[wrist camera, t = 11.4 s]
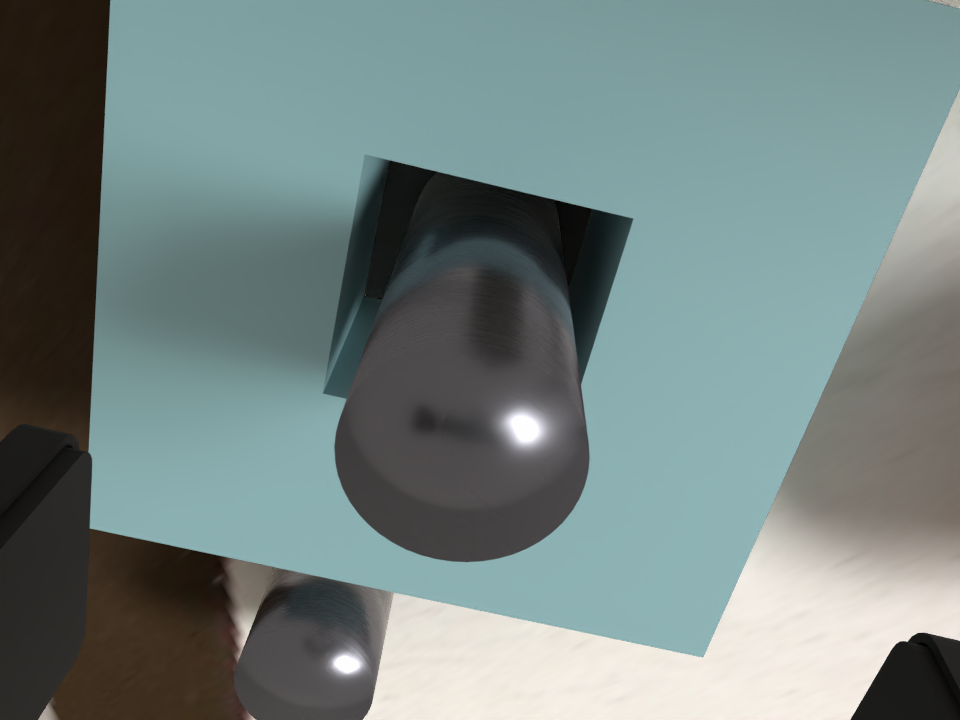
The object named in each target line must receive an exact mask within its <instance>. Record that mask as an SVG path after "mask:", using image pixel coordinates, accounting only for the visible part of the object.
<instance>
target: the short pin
mask: <svg viewBox="0 0 960 720" xmlns="http://www.w3.org/2000/svg"><path fill="white" fill-rule="evenodd" d="M393 593H394V592H390V591H385V590H380V589H376V588H371V587H366V586H361V585H357V584H352V583H347V582H342V581H338V580H333V579H328V578H323V577H319V576H314V575H309V574H305V573H300V572H295V571H290V570H286V569H281V568H276V567H275V568H274V571H273V573H272V576H271V578H270V581H269V583H268V586H267V589H266V591H265V594H264V596H263V599H262V602H261V604H260V607H259V609H258V612H257V615H256V617H255V620H254V622H253V625H252V627H251V630H250V633H249V635H248V638H247V640H246V643H245V646H244V648H243V651H242V653H241V656H240V658H239V661H238V664H237V666H236V670H235V674H234V685H235V690H236V693H237V696H238V698H239V700H240V702H241V703H242V705H243V706H244V708H245V709H246V710H247V711H248V713H249V714H250V715H252V716H253V717H254V718H255V719H256V720H363V718H364V717H365V716H366V715H367V713H368V711H369V709H370V707H371V704H372V700H373V695H374V690H375V685H376V680H377V675H378V669H379V664H380V659H381V654H382V649H383V644H384V639H385V634H386V629H387V623H388V618H389V613H390V608H391V603H392V598H393Z"/></svg>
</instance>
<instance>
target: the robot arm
mask: <svg viewBox="0 0 960 720" xmlns="http://www.w3.org/2000/svg"><path fill="white" fill-rule="evenodd" d="M91 484H92V457H91V454H90V453H88V452H85V451H81V450H79V443H78V440H77V438H76V437H75V436H73V435H70V434H66V433H62V432H57V431H53V430H49V429H44V428H40V427H36V426H32V425H27V424H22V425H19V426H17V427H16V428H15V429H13V430H12V431H11V432H10V433H9V434H8V435H7V436H6V437H5V438H4V439H3V440H2V441H1V442H0V720H38V719H39V717H40V715H41V714H42V712H43V711H44V709H45V708H46V706H47V704H48V703H49V701H50V700H51V698H52V697H53V695H54V693H55V692H56V690H57V689H58V687H59V685H60V684H61V682H62V681H63V679H64V678H65V676H66V674H67V673H68V671H69V670H70V668H71V667H72V665H73V663H74V661H75V660H76V658H77V656H78V653H79V651H80V649H81V646H82V643H83V639H84V635H85V628H86V605H87V580H88V556H89V532H90V508H91ZM851 720H960V641H958V640H954V639H949V638H945V637H941V636H936V635H932V634H928V633H917V634H916V635H914V636H912V637H911V638H910V640H909V641H908V642H906V641H901V642H899V643H897V644H896V645H895V646H894V647H893V649H892V650H891V652H890V654H889V655H888V657H887V659H886V660H885V662H884V664H883V665H882V667H881V669H880V671H879V672H878V674H877V676H876V677H875V679H874V681H873V682H872V684H871V686H870V687H869V689H868V691H867V693H866V694H865V696H864V698H863V699H862V701H861V703H860V704H859V706H858V708H857V710H856V711H855V713H854V715H853V716H852V718H851Z"/></svg>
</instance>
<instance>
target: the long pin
mask: <svg viewBox="0 0 960 720" xmlns="http://www.w3.org/2000/svg"><path fill="white" fill-rule="evenodd" d="M334 450H335V463H336V468H337V473H338V477H339V480H340V482H341V485H342V488H343V490H344V492H345V494H346V496H347V498H348V500H349V501H350V503H351V504H352V506H353V507H354V509H355V510H356V511H357V513H358V514H359V515H360V516H361V517H362V518H363V519H364V520H365V522H366V523H367V524H368V525H369V526H371V527H372V528H373V529H374V530H375V531H377V532H378V533H379V534H380V535H382V536H383V537H385V538H386V539H388V540H389V541H391V542H392V543H394V544H396V545H398V546H400V547H402V548H404V549H406V550H409V551H411V552H414V553H416V554H419V555H422V556H426V557H430V558H433V559H438V560H445V561H452V562H479V561H487V560H493V559H499V558H502V557H506V556H509V555H513V554H515V553H518V552H520V551H523V550H525V549H527V548H529V547H531V546H533V545H535V544H536V543H538V542H540V541H541V540H543V539H544V538H546V537H547V536H548V535H550V534H551V533H552V532H553V531H555V530H556V529H557V528H558V527H559V526H560V525H561V524H562V523H563V522H564V521H565V519H566V518H567V517H568V516H569V514H570V513H571V512H572V511H573V509H574V507H575V506H576V504H577V502H578V501H579V499H580V496H581V494H582V492H583V489H584V487H585V483H586V480H587V476H588V470H589V460H590V455H589V441H588V434H587V426H586V419H585V411H584V404H583V396H582V389H581V382H580V374H579V367H578V359H577V352H576V344H575V337H574V329H573V322H572V315H571V307H570V300H569V292H568V285H567V277H566V270H565V262H564V255H563V248H562V240H561V233H560V225H559V218H558V212H557V207H556V204H555V202H554V199H550V198H545V197H541V196H537V195H533V194H529V193H524V192H520V191H516V190H512V189H508V188H504V187H499V186H495V185H491V184H487V183H483V182H478V181H474V180H470V179H466V178H462V177H458V176H453V175H449V174H445V173H441V172H437V173H436V174H435V175H434V176H433V177H432V178H431V179H430V180H429V181H428V183H427V184H426V185H425V187H424V188H423V190H422V192H421V194H420V196H419V198H418V201H417V203H416V206H415V209H414V212H413V214H412V217H411V220H410V223H409V226H408V228H407V231H406V234H405V237H404V240H403V242H402V245H401V248H400V251H399V254H398V256H397V259H396V262H395V265H394V268H393V270H392V273H391V276H390V279H389V282H388V284H387V287H386V290H385V293H384V296H383V298H382V301H381V304H380V307H379V310H378V312H377V315H376V318H375V321H374V324H373V326H372V329H371V332H370V335H369V338H368V340H367V343H366V346H365V349H364V351H363V354H362V357H361V360H360V363H359V365H358V368H357V371H356V374H355V377H354V379H353V382H352V385H351V388H350V391H349V393H348V396H347V399H346V402H345V405H344V407H343V410H342V413H341V416H340V419H339V422H338V426H337V430H336V436H335V445H334Z"/></svg>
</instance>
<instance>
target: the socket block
mask: <svg viewBox="0 0 960 720" xmlns="http://www.w3.org/2000/svg"><path fill="white" fill-rule="evenodd" d="M959 89H960V9H959V8H955V7H951V6H947V5H943V4H940V3H936V2H932V1H928V0H110V20H109V40H108V61H107V82H106V103H105V123H104V144H103V165H102V186H101V206H100V227H99V248H98V269H97V289H96V310H95V331H94V352H93V372H92V393H91V414H90V434H89V453H90V454H91V457H92V484H91V508H90V528H91V529H96V530H100V531H105V532H110V533H115V534H119V535H124V536H129V537H134V538H138V539H143V540H148V541H153V542H157V543H162V544H167V545H172V546H176V547H181V548H186V549H191V550H195V551H200V552H205V553H210V554H214V555H219V556H224V557H229V558H233V559H238V560H243V561H248V562H252V563H257V564H262V565H267V566H271V567H276V568H281V569H286V570H290V571H295V572H300V573H305V574H309V575H314V576H319V577H323V578H328V579H333V580H338V581H342V582H347V583H352V584H357V585H361V586H366V587H371V588H376V589H380V590H385V591H390V592H395V593H399V594H404V595H409V596H414V597H418V598H423V599H428V600H433V601H437V602H442V603H447V604H452V605H456V606H461V607H466V608H471V609H475V610H480V611H485V612H490V613H494V614H499V615H504V616H509V617H513V618H518V619H523V620H528V621H532V622H537V623H542V624H547V625H551V626H556V627H561V628H566V629H570V630H575V631H580V632H585V633H589V634H594V635H599V636H604V637H608V638H613V639H618V640H623V641H627V642H632V643H637V644H642V645H646V646H651V647H656V648H661V649H665V650H670V651H675V652H680V653H684V654H689V655H694V656H699V657H703V656H704V654H705V652H706V650H707V648H708V645H709V643H710V641H711V639H712V637H713V634H714V632H715V630H716V628H717V625H718V623H719V621H720V619H721V617H722V614H723V612H724V610H725V608H726V605H727V603H728V601H729V599H730V597H731V594H732V592H733V590H734V588H735V586H736V583H737V581H738V579H739V577H740V574H741V572H742V570H743V568H744V566H745V563H746V561H747V559H748V557H749V555H750V552H751V550H752V548H753V546H754V543H755V541H756V539H757V537H758V535H759V532H760V530H761V528H762V526H763V523H764V521H765V519H766V517H767V515H768V512H769V510H770V508H771V506H772V504H773V501H774V499H775V497H776V495H777V492H778V490H779V488H780V486H781V484H782V481H783V479H784V477H785V475H786V472H787V470H788V468H789V466H790V464H791V461H792V459H793V457H794V455H795V453H796V450H797V448H798V446H799V444H800V441H801V439H802V437H803V435H804V433H805V430H806V428H807V426H808V424H809V421H810V419H811V417H812V415H813V413H814V410H815V408H816V406H817V404H818V402H819V399H820V397H821V395H822V393H823V390H824V388H825V386H826V384H827V382H828V379H829V377H830V375H831V373H832V370H833V368H834V366H835V364H836V362H837V359H838V357H839V355H840V353H841V351H842V348H843V346H844V344H845V342H846V339H847V337H848V335H849V333H850V331H851V328H852V326H853V324H854V322H855V320H856V317H857V315H858V313H859V311H860V308H861V306H862V304H863V302H864V300H865V297H866V295H867V293H868V291H869V288H870V286H871V284H872V282H873V280H874V277H875V275H876V273H877V271H878V269H879V266H880V264H881V262H882V260H883V257H884V255H885V253H886V251H887V249H888V246H889V244H890V242H891V240H892V237H893V235H894V233H895V231H896V229H897V226H898V224H899V222H900V220H901V218H902V215H903V213H904V211H905V209H906V206H907V204H908V202H909V200H910V198H911V195H912V193H913V191H914V189H915V186H916V184H917V182H918V180H919V178H920V175H921V173H922V171H923V169H924V167H925V164H926V162H927V160H928V158H929V155H930V153H931V151H932V149H933V147H934V144H935V142H936V140H937V138H938V135H939V133H940V131H941V129H942V127H943V124H944V122H945V120H946V118H947V116H948V113H949V111H950V109H951V107H952V104H953V102H954V100H955V98H956V96H957V93H958V91H959ZM390 160H391V161H395V162H399V163H403V164H407V165H412V166H416V167H420V168H424V169H428V170H433V171H437V172H441V173H445V174H449V175H453V176H458V177H462V178H466V179H470V180H474V181H478V182H483V183H487V184H491V185H495V186H499V187H504V188H508V189H512V190H516V191H520V192H524V193H529V194H533V195H537V196H541V197H545V198H550V199H554V200H558V201H562V202H566V203H570V204H575V205H579V206H583V207H587V208H591V209H592V211H591V215H590V218H589V222H588V225H587V228H586V232H585V235H584V239H583V242H582V245H581V249H580V252H579V256H578V259H577V262H576V266H575V269H574V273H573V276H572V279H571V283H570V286H569V289H568V292H569V300H570V307H571V315H572V322H573V329H574V337H575V344H576V352H577V359H578V367H579V374H580V382H581V389H582V396H583V404H584V411H585V419H586V426H587V434H588V441H589V455H590V460H589V470H588V476H587V480H586V483H585V487H584V489H583V492H582V494H581V496H580V499H579V501H578V502H577V504H576V506H575V507H574V509H573V511H572V512H571V513H570V514H569V516H568V517H567V518H566V519H565V521H564V522H563V523H562V524H561V525H560V526H559V527H558V528H557V529H556V530H555V531H553V532H552V533H551V534H550V535H548V536H547V537H546V538H544V539H543V540H541V541H540V542H538V543H536V544H535V545H533V546H531V547H529V548H527V549H525V550H523V551H520V552H518V553H515V554H513V555H509V556H506V557H502V558H499V559H493V560H487V561H479V562H452V561H445V560H438V559H433V558H430V557H426V556H422V555H419V554H416V553H414V552H411V551H409V550H406V549H404V548H402V547H400V546H398V545H396V544H394V543H392V542H391V541H389V540H388V539H386V538H385V537H383V536H382V535H380V534H379V533H378V532H377V531H375V530H374V529H373V528H372V527H371V526H369V525H368V524H367V523H366V522H365V520H364V519H363V518H362V517H361V516H360V515H359V514H358V513H357V511H356V510H355V509H354V507H353V506H352V504H351V503H350V501H349V500H348V498H347V496H346V494H345V492H344V490H343V488H342V485H341V482H340V480H339V477H338V473H337V468H336V463H335V450H334V445H335V436H336V430H337V426H338V422H339V419H340V416H341V413H342V410H343V407H344V405H345V402H346V399H347V396H348V393H349V391H350V388H351V385H352V382H353V379H354V377H355V374H356V371H357V368H358V365H359V363H360V360H361V357H362V354H363V351H364V349H365V346H366V343H367V340H368V338H369V335H370V332H371V329H372V326H373V324H374V321H375V318H376V315H377V312H378V310H379V307H380V304H381V301H382V300H381V299H377V298H373V297H368V296H364V294H365V289H366V284H367V278H368V273H369V268H370V262H371V257H372V252H373V246H374V241H375V236H376V231H377V225H378V220H379V215H380V209H381V204H382V199H383V193H384V188H385V183H386V177H387V172H388V167H389V162H390Z"/></svg>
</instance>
